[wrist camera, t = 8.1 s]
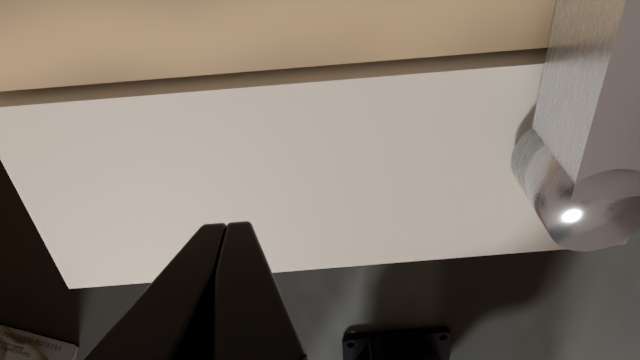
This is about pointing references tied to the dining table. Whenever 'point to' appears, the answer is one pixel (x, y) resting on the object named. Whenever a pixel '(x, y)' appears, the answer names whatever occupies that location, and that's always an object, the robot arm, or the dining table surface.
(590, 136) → the bar
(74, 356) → the coffee box
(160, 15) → the stepped wooden block
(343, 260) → the jamb
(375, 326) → the dining table surface
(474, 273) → the dining table surface
